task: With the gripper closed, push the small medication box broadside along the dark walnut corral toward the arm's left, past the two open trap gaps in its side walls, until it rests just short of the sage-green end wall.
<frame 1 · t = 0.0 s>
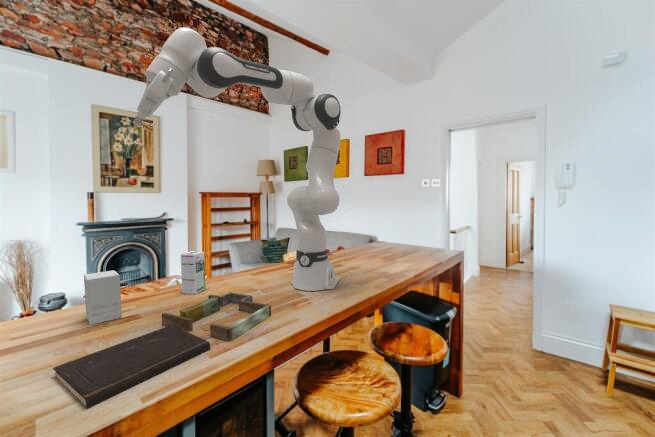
hand: (138, 120, 78), 54 cm above the worktop, tool tilted 30°, fingers open, 8 cm apart
trap corral: (216, 319, 84), on the worktop
supplement box: (103, 318, 84), on the worktop
medication box: (200, 317, 86), on the worktop
hardcover book: (138, 365, 62), on the worktop
syrup box: (193, 291, 108), on the worktop
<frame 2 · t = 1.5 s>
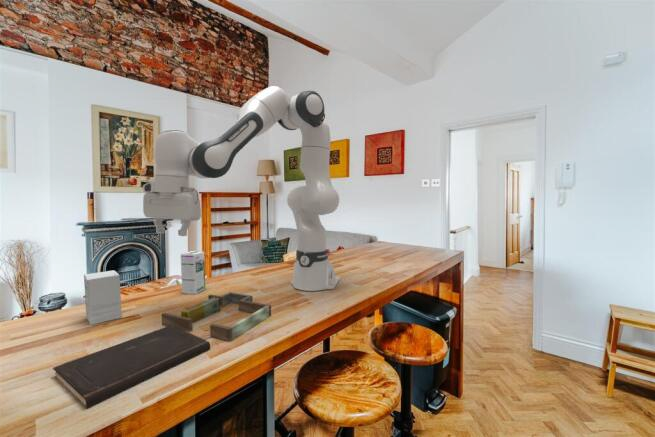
hand: (171, 234, 87), 23 cm above the worktop, tool pointing down, fingers open, 8 cm apart
nothing on the worktop moved.
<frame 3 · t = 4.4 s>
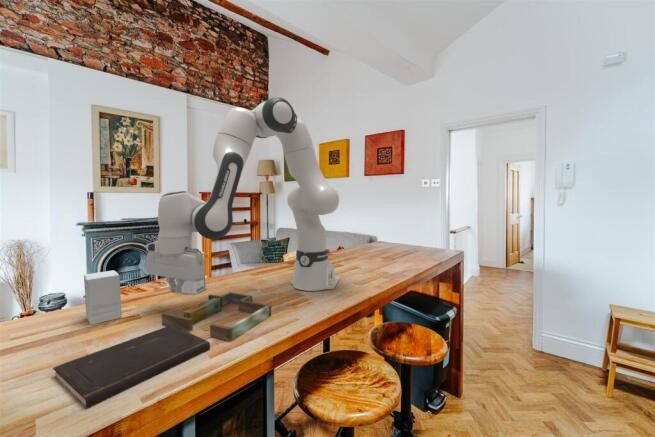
hand: (175, 292, 89), 6 cm above the worktop, tool pointing down, fingers closed
nothing on the worktop moved.
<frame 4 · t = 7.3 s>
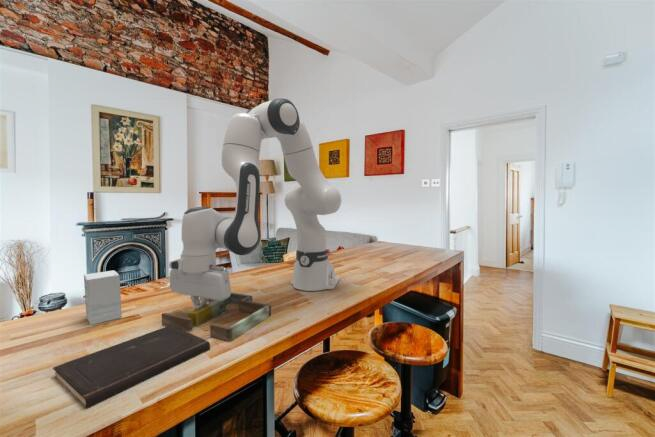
hand: (200, 310, 86), 2 cm above the worktop, tool pointing down, fingers closed
medication box: (208, 319, 85), on the worktop, touching gripper
everything else where it was.
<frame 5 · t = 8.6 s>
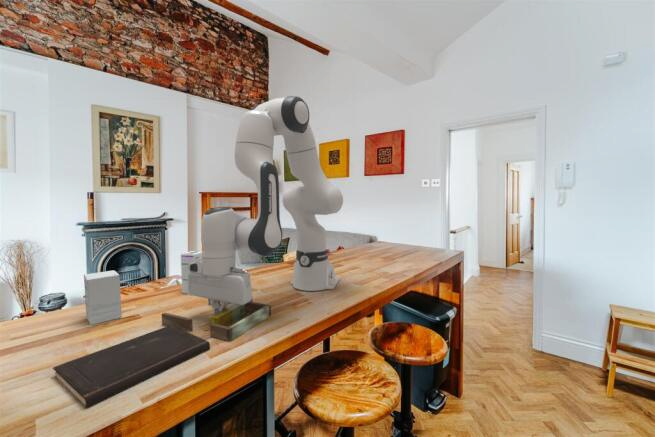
hand: (219, 314, 83), 2 cm above the worktop, tool pointing down, fingers closed
medication box: (229, 323, 82), on the worktop, touching gripper
everything else where it was.
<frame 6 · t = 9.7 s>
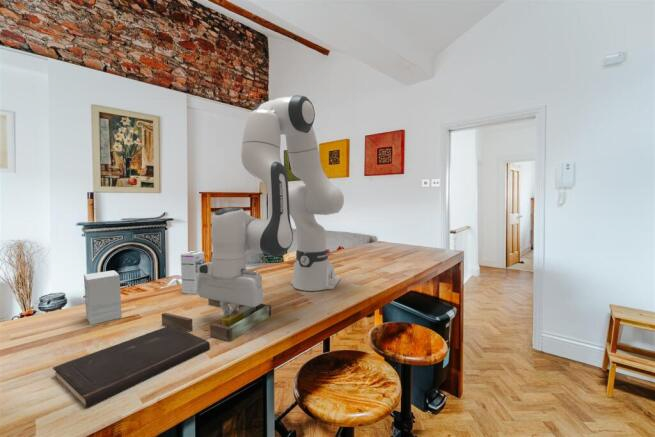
hand: (229, 317, 82), 2 cm above the worktop, tool pointing down, fingers closed
medication box: (240, 325, 81), on the worktop, touching gripper
everything else where it was.
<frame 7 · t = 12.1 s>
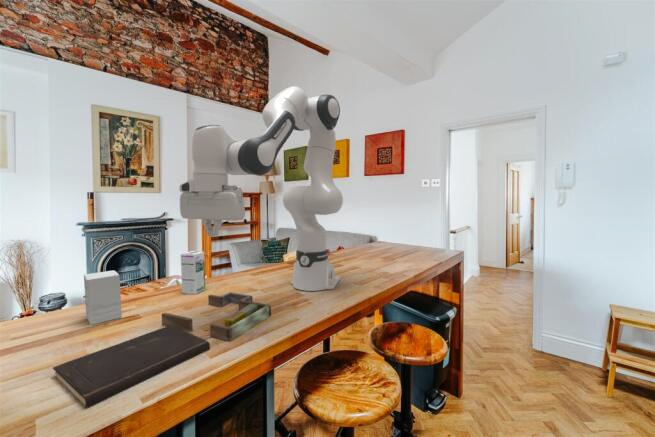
hand: (212, 235, 82), 24 cm above the worktop, tool pointing down, fingers closed
medication box: (242, 326, 81), on the worktop
everything else where it was.
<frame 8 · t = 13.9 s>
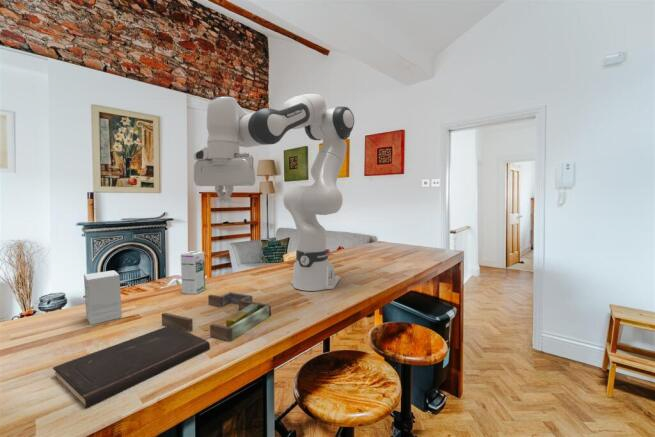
hand: (224, 201, 88), 33 cm above the worktop, tool pointing down, fingers closed
nothing on the worktop moved.
at the end: medication box inside the target area (2.3 cm from its centre), on the worktop; medication box moved 15.0 cm from its start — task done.
